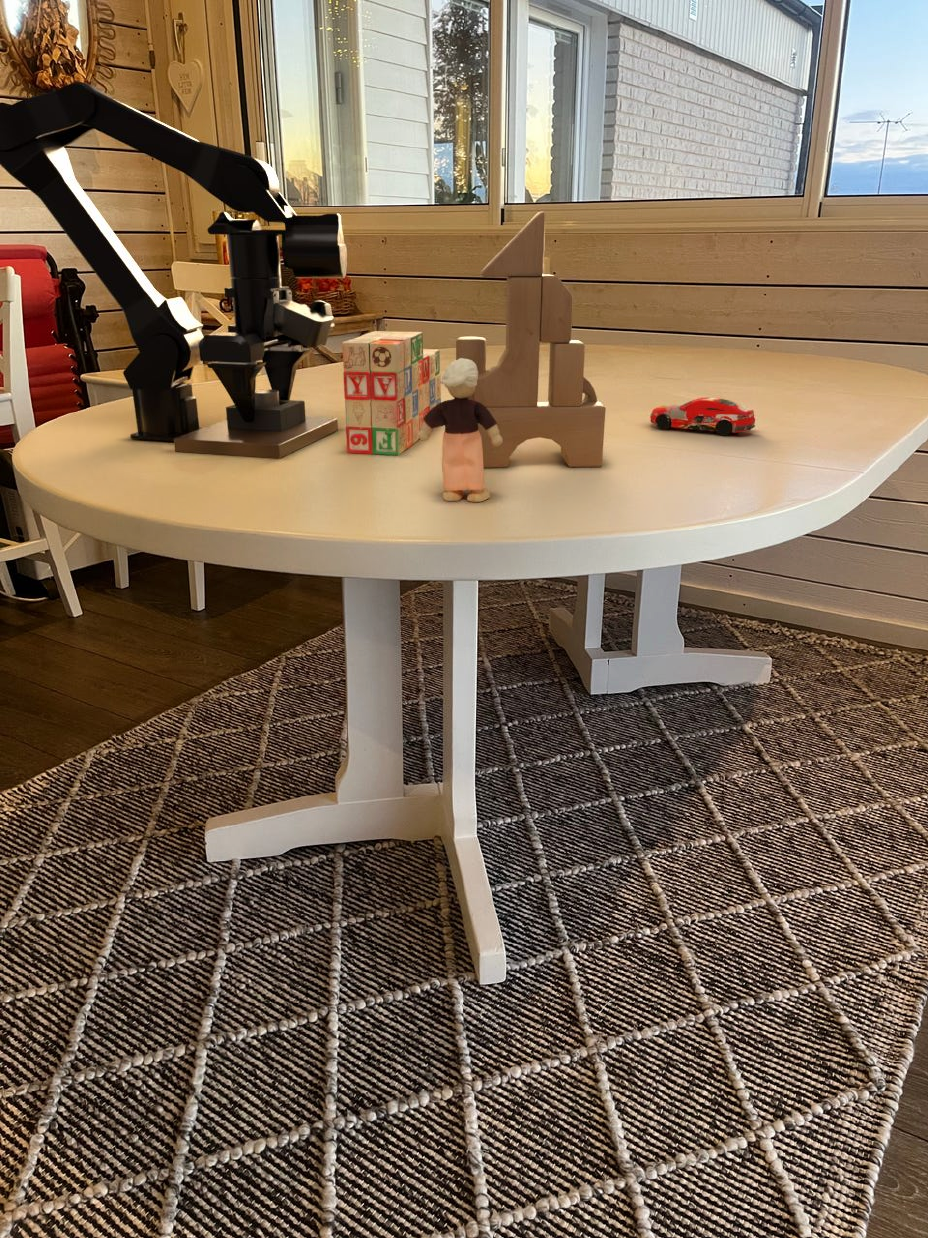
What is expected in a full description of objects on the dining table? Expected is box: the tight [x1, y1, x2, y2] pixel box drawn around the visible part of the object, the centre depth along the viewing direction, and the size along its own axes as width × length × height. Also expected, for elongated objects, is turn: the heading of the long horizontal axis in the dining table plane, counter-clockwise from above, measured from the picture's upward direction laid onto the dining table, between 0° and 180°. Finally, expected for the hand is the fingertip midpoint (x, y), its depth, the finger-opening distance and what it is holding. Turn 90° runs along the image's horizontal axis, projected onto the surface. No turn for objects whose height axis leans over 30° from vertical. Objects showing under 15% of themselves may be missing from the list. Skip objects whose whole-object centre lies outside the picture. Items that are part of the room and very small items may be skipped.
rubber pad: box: [225, 399, 306, 432], centre depth 111 cm, size 7×7×2 cm
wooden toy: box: [455, 211, 606, 469], centre depth 96 cm, size 15×7×25 cm, turn 93°
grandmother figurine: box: [418, 358, 503, 503], centre depth 84 cm, size 8×4×13 cm, turn 91°
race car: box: [649, 396, 756, 437], centre depth 117 cm, size 13×5×4 cm, turn 60°
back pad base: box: [173, 388, 339, 459], centre depth 109 cm, size 13×17×6 cm
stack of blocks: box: [341, 330, 442, 456], centre depth 110 cm, size 21×6×12 cm, turn 168°
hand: (266, 415), depth 111 cm, fingers open, 9 cm apart
